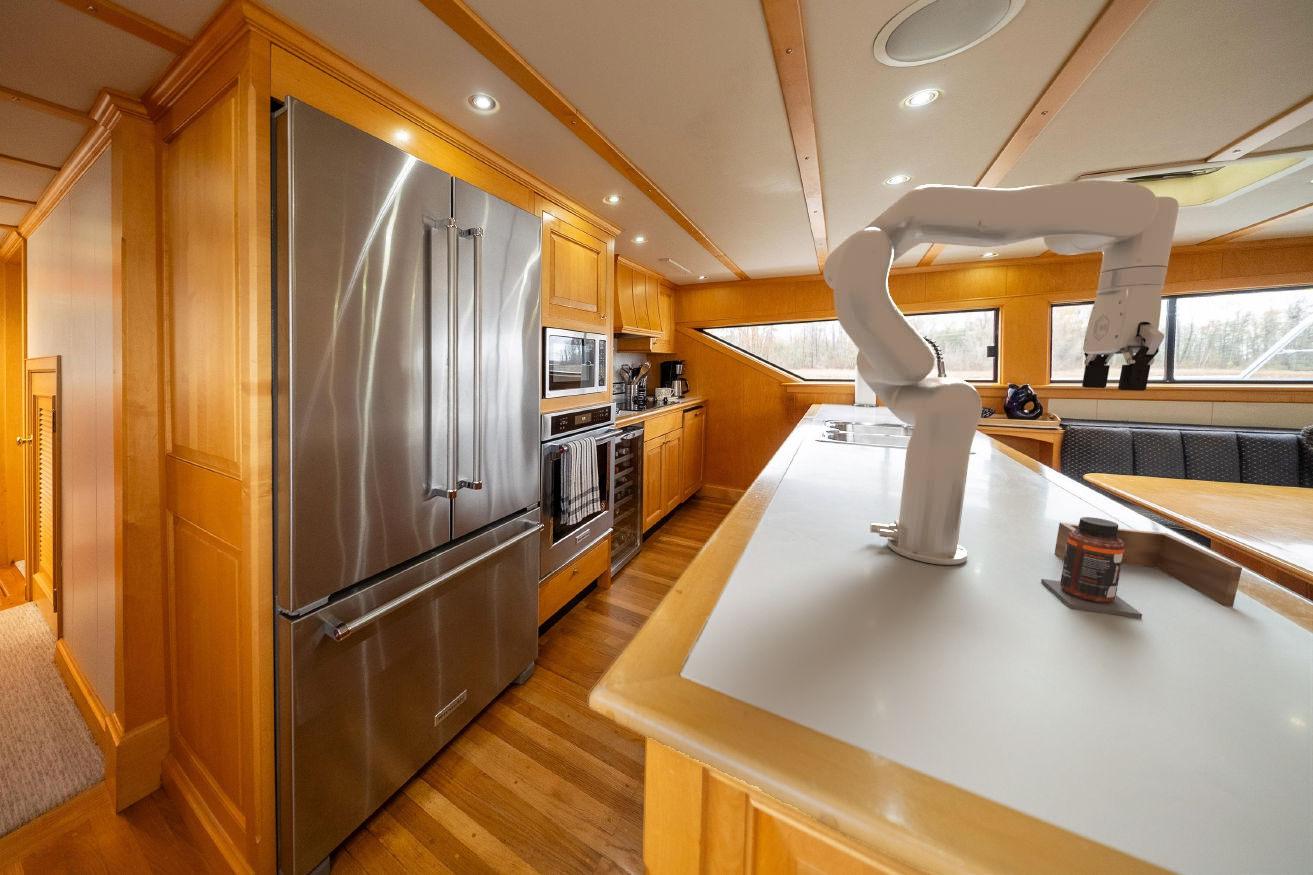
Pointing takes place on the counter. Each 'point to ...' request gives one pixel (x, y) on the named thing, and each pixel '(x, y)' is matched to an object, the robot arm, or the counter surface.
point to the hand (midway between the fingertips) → (1111, 389)
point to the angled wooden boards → (1172, 561)
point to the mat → (1091, 602)
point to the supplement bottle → (1093, 560)
